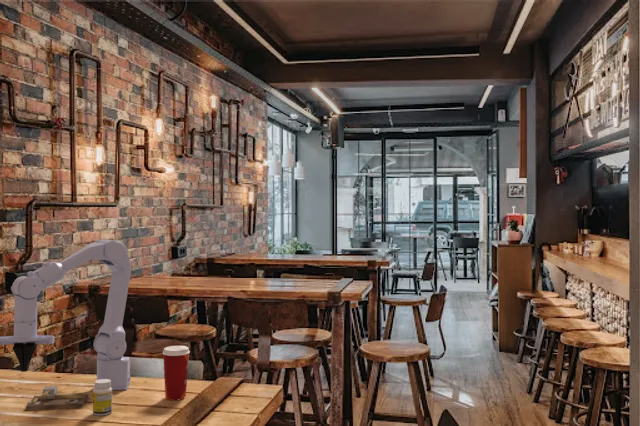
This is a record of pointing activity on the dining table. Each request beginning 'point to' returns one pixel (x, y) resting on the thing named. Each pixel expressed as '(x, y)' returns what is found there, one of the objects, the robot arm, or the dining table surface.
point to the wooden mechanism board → (58, 401)
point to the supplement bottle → (102, 397)
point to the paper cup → (175, 371)
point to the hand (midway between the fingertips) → (24, 370)
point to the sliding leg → (49, 392)
